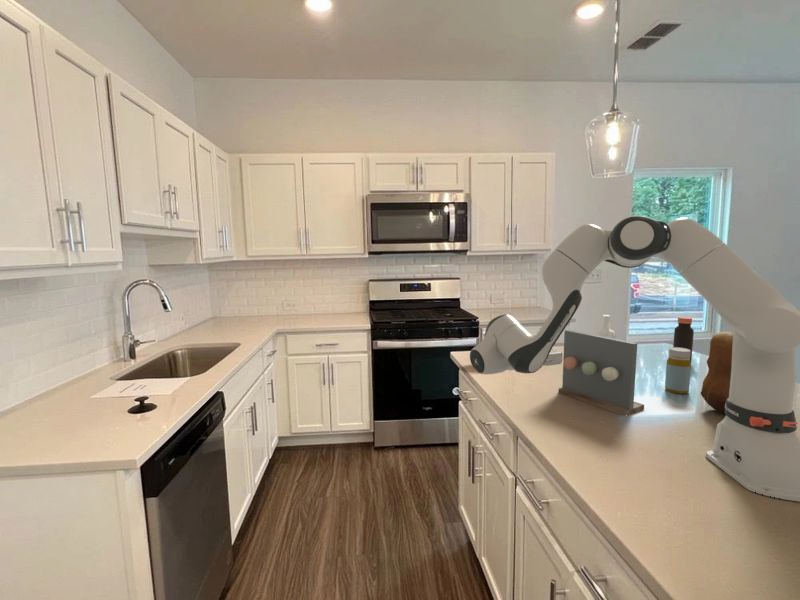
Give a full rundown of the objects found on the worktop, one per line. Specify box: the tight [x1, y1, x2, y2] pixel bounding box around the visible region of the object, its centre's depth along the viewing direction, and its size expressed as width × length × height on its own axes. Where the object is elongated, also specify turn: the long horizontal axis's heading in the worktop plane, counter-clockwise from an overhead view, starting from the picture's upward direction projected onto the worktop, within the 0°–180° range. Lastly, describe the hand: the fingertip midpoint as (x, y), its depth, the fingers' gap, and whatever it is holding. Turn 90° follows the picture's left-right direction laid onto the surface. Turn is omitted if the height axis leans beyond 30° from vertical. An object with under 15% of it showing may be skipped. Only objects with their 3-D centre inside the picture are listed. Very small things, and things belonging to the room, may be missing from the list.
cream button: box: [602, 367, 619, 381], centre depth 125 cm, size 2×4×4 cm, turn 30°
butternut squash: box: [700, 331, 733, 414], centre depth 122 cm, size 14×13×25 cm
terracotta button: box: [562, 357, 578, 370], centre depth 137 cm, size 2×4×4 cm, turn 30°
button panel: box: [558, 329, 645, 417], centre depth 134 cm, size 10×24×22 cm, turn 30°
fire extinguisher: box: [596, 314, 617, 339], centre depth 154 cm, size 7×12×25 cm, turn 157°
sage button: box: [582, 361, 598, 375], centre depth 131 cm, size 2×4×4 cm, turn 30°
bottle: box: [664, 346, 692, 395], centre depth 142 cm, size 7×7×15 cm
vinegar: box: [672, 316, 695, 363], centre depth 175 cm, size 7×7×20 cm
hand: (547, 348), depth 131 cm, fingers closed
